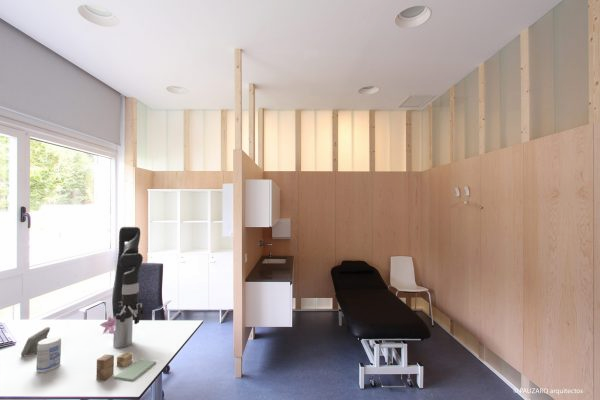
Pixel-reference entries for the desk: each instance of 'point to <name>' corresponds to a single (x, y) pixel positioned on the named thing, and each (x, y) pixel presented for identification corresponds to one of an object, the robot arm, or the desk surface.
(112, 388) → the desk surface
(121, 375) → the pad
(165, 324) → the desk surface
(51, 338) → the supplement tub
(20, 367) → the desk surface
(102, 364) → the tall walnut block
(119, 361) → the short oak block
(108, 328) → the lily
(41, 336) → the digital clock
